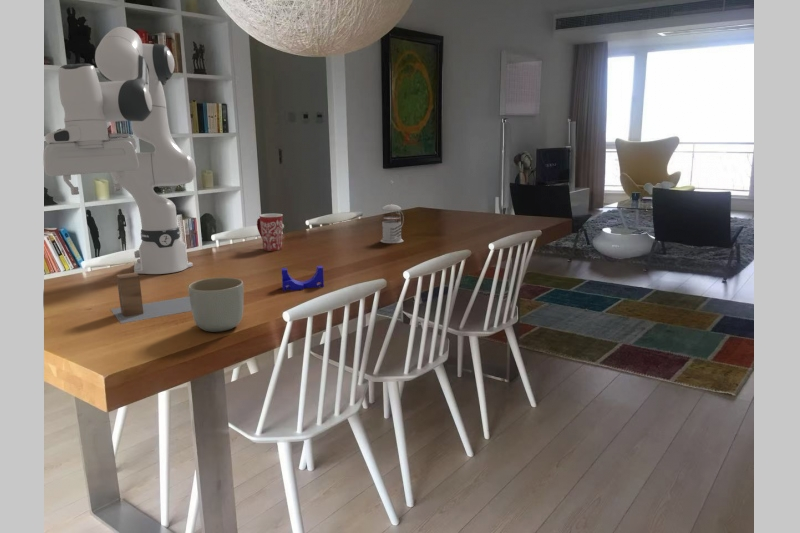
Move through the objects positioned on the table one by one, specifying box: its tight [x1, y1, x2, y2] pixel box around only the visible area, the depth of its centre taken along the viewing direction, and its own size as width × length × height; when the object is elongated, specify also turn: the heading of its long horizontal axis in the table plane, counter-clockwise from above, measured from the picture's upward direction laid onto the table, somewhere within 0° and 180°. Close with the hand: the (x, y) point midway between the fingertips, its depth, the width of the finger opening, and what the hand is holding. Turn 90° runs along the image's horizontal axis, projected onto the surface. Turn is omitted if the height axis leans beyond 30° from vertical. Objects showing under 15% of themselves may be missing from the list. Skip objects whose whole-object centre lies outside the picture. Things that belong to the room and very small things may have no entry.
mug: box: [256, 212, 284, 252], centre depth 230 cm, size 13×9×14 cm
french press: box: [380, 180, 405, 244], centre depth 243 cm, size 10×12×25 cm
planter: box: [187, 276, 244, 333], centre depth 140 cm, size 12×12×11 cm
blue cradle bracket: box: [281, 265, 325, 292], centre depth 175 cm, size 12×4×6 cm, turn 103°
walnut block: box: [116, 272, 144, 317], centre depth 150 cm, size 4×4×10 cm
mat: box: [110, 295, 192, 324], centre depth 155 cm, size 14×22×1 cm, turn 125°
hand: (97, 192), depth 142 cm, fingers open, 8 cm apart
